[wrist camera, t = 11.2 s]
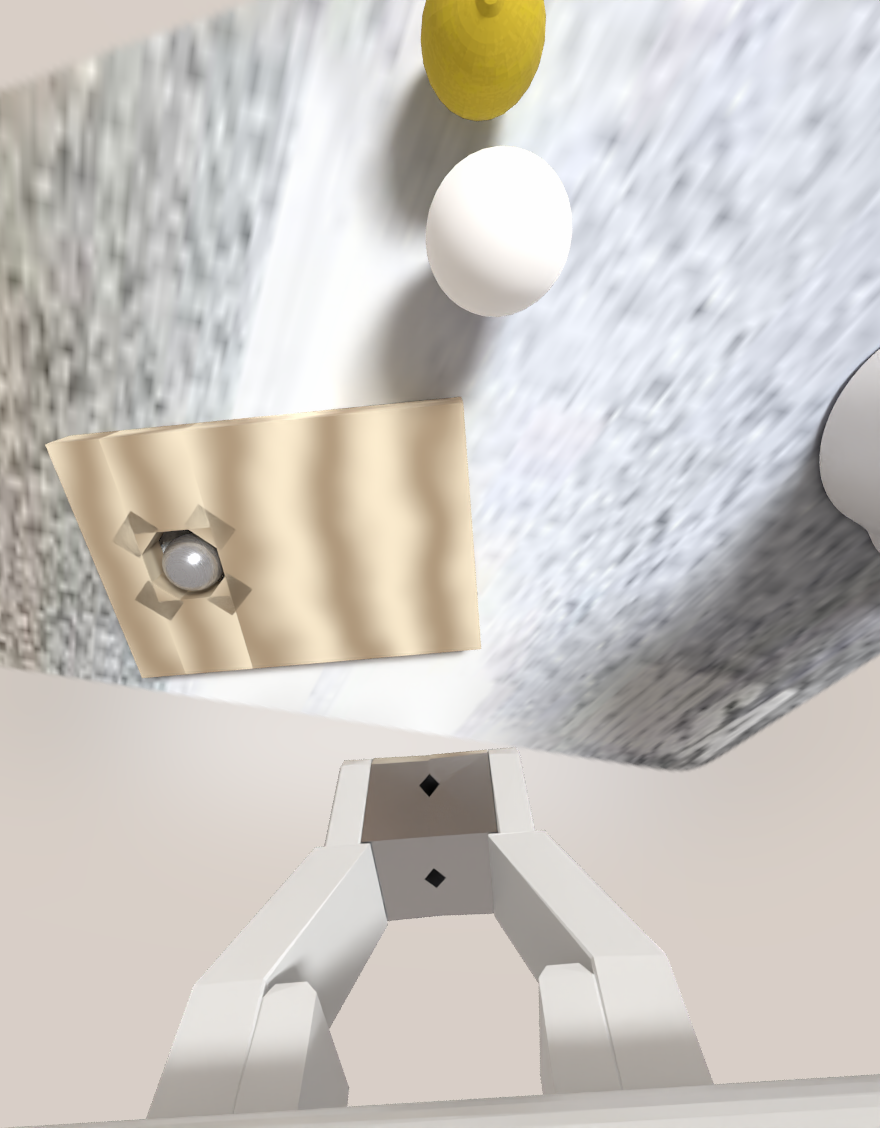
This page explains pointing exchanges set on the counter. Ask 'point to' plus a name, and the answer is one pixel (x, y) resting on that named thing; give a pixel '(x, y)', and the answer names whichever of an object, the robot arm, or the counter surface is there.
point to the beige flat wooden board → (284, 535)
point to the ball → (191, 563)
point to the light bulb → (498, 231)
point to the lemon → (482, 52)
